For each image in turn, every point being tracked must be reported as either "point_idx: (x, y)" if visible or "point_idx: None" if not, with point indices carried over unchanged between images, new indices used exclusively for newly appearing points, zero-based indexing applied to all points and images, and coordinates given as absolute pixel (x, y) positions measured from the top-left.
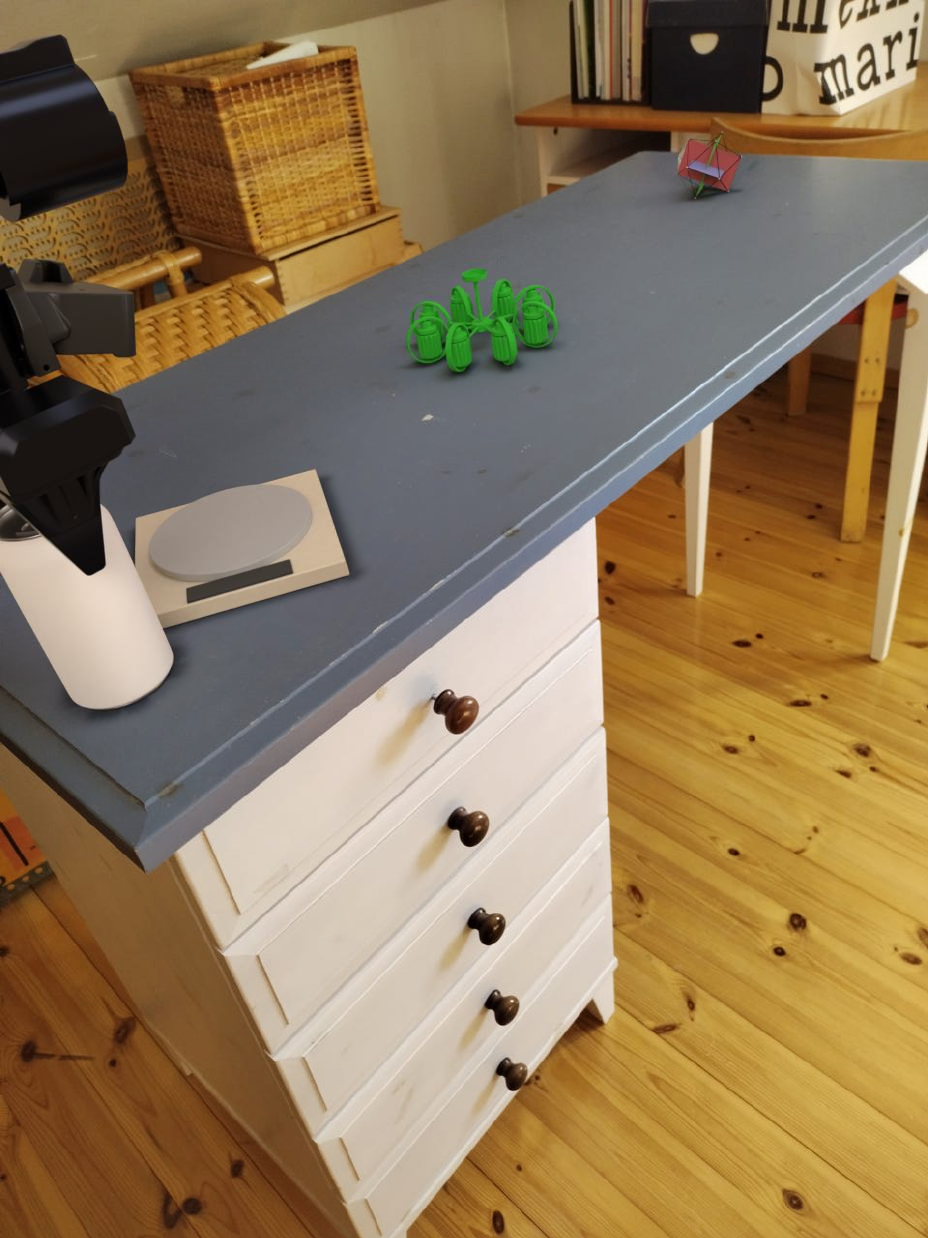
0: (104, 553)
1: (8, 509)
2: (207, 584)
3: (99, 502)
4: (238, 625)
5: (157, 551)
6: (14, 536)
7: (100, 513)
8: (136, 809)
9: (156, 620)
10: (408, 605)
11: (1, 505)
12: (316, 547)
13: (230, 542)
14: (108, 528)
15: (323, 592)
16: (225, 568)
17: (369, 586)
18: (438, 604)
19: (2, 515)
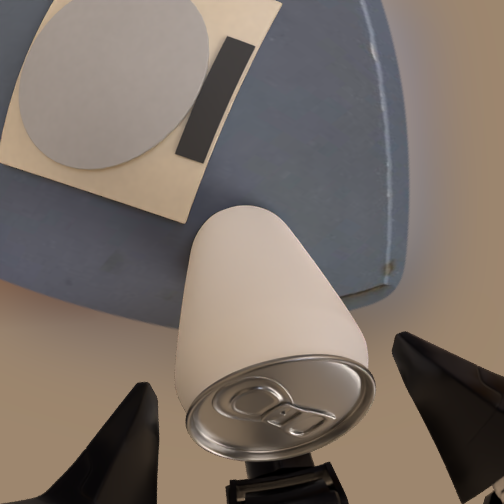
0: (422, 339)
1: (207, 442)
2: (189, 130)
3: (494, 374)
4: (258, 130)
5: (79, 158)
6: (306, 438)
7: (479, 366)
8: (383, 289)
9: (279, 226)
10: (365, 19)
11: (155, 433)
12: (227, 6)
13: (134, 74)
14: (347, 317)
15: (282, 41)
16: (187, 100)
17: (311, 13)
18: (381, 9)
19: (216, 445)
